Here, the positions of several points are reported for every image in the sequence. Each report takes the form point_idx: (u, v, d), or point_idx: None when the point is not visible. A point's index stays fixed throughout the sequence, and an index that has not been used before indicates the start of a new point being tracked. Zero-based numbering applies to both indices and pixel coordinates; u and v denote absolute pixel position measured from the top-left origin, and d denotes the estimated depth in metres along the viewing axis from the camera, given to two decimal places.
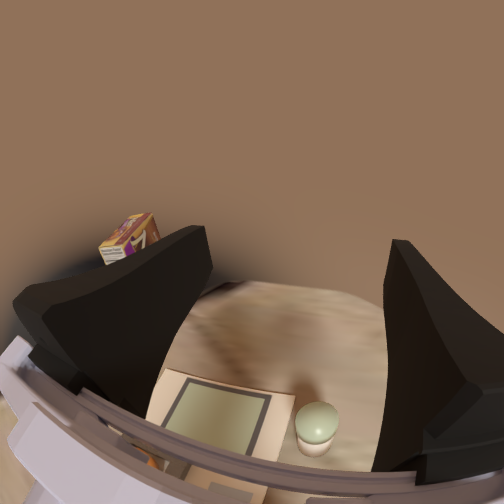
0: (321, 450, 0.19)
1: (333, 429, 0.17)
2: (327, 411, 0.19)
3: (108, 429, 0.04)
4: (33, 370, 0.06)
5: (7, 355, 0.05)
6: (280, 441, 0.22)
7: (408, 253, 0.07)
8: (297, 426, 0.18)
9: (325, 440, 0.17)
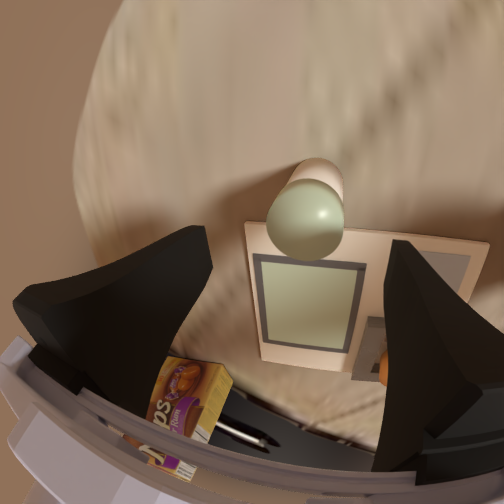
0: (338, 181, 0.14)
1: (322, 199, 0.11)
2: (286, 213, 0.12)
3: (108, 429, 0.04)
4: (33, 370, 0.06)
5: (7, 355, 0.05)
6: None
7: (408, 253, 0.07)
8: (322, 256, 0.12)
9: (338, 199, 0.12)
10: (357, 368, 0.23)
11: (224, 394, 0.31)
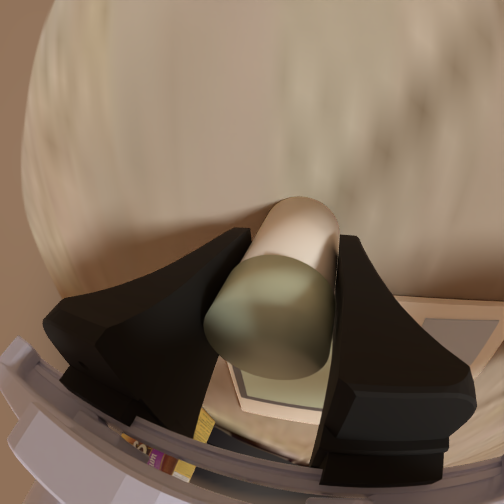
0: (332, 240, 0.09)
1: (293, 311, 0.06)
2: (232, 324, 0.07)
3: (108, 429, 0.04)
4: (33, 370, 0.06)
5: (7, 355, 0.05)
6: None
7: (348, 248, 0.08)
8: (295, 376, 0.08)
9: (325, 296, 0.07)
10: None
11: (205, 437, 0.26)
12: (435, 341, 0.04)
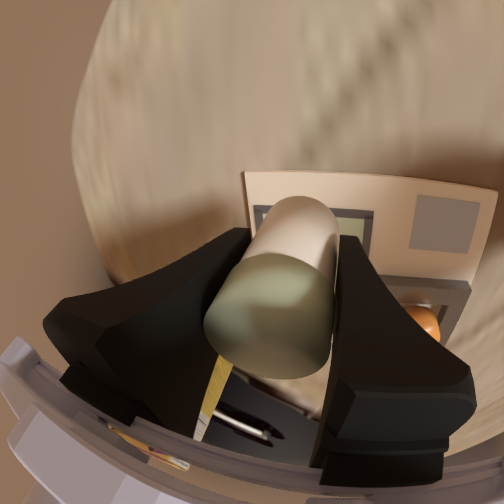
0: (331, 239, 0.09)
1: (293, 310, 0.06)
2: (232, 323, 0.07)
3: (108, 429, 0.04)
4: (33, 370, 0.06)
5: (7, 355, 0.05)
6: (327, 175, 0.17)
7: (348, 248, 0.08)
8: (295, 376, 0.07)
9: (325, 295, 0.07)
10: None
11: (225, 376, 0.30)
12: (435, 341, 0.04)
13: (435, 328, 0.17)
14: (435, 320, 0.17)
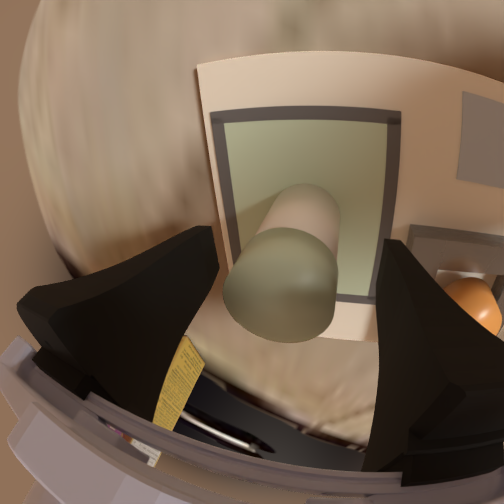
0: (333, 220, 0.11)
1: (303, 270, 0.07)
2: (249, 286, 0.08)
3: (108, 429, 0.04)
4: (33, 370, 0.06)
5: (7, 355, 0.05)
6: (322, 55, 0.09)
7: (399, 252, 0.07)
8: (303, 338, 0.09)
9: (329, 262, 0.08)
10: None
11: (190, 381, 0.22)
12: (501, 341, 0.03)
13: (498, 310, 0.09)
14: (494, 298, 0.10)
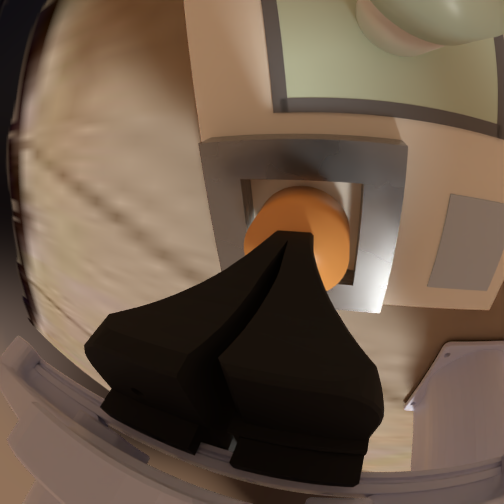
0: (435, 48, 0.05)
1: None
2: None
3: (108, 429, 0.04)
4: (33, 370, 0.06)
5: (7, 355, 0.05)
6: None
7: (295, 243, 0.08)
8: None
9: (478, 39, 0.03)
10: (249, 145, 0.10)
11: None
12: (347, 336, 0.04)
13: (337, 282, 0.10)
14: None
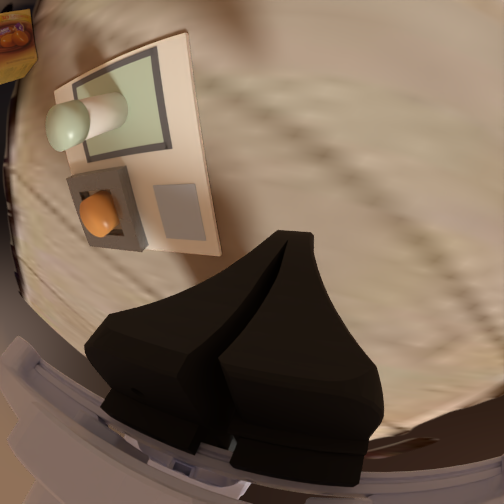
0: (108, 128, 0.17)
1: (70, 134, 0.14)
2: (60, 115, 0.13)
3: (108, 429, 0.04)
4: (33, 370, 0.06)
5: (7, 355, 0.05)
6: (191, 104, 0.17)
7: (295, 243, 0.08)
8: (50, 143, 0.15)
9: (80, 139, 0.15)
10: (78, 178, 0.22)
11: (9, 79, 0.16)
12: (348, 336, 0.04)
13: (107, 229, 0.23)
14: (113, 226, 0.24)
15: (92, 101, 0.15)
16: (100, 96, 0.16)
